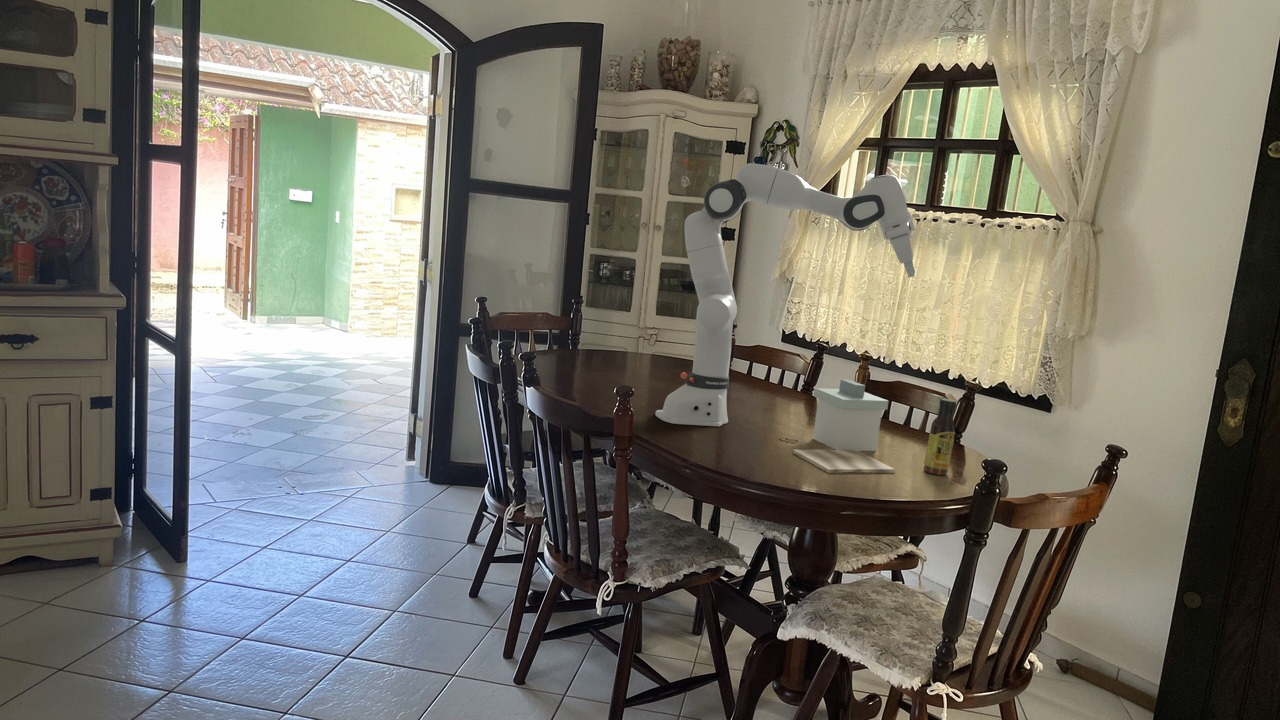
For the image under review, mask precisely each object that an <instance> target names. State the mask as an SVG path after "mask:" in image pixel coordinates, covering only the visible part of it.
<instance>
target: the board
mask: <svg viewBox="0 0 1280 720" xmlns="http://www.w3.org/2000/svg"><path fill="white" fill-rule="evenodd" d="M792 454H794V455H795V454H796V455H795V456H797V455H798V456H797V457H799V458H801V459H802V458H803V459H802V460H804V459H805V460H804V461H806V460H807V461H806V462H808V461H809V462H810V464H811V463H812V465H813V464H814V465H813V466H815V467H816V468H818V467H819V468H818V469H820V468H821V469H820V470H822V469H823V470H822V471H824V470H825V471H826V473H827V472H828V473H827V474H842V473H841V472H861V473H860V474H863V473H862V472H865V473H864V474H895V472H896V469H895V468H893V467H892V466H890V465H887V464H885V463H884V462H882V461H879V460H878V459H875V458H873V457H871V456H869V455H867V454H865V453H863V452H862V451H857V450H834V449H793V451H792ZM809 462H808V463H809ZM825 471H824V472H825ZM839 472H840V473H839ZM866 472H868V473H866ZM869 472H870V473H869ZM871 472H872V473H871Z"/></svg>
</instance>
